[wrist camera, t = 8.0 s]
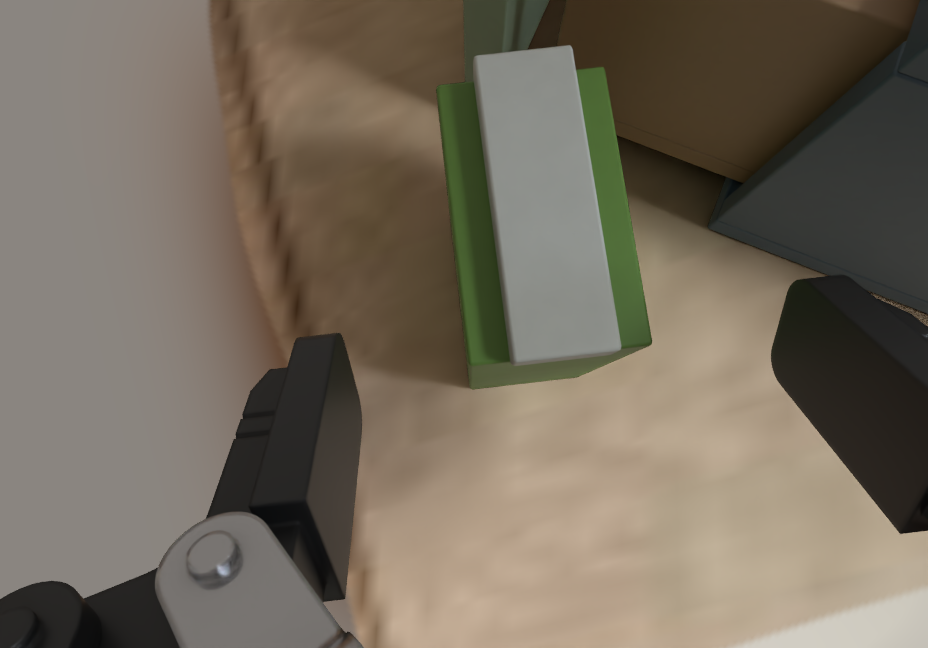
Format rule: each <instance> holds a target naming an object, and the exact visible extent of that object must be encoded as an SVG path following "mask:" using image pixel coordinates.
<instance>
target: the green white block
mask: <svg viewBox="0 0 928 648" xmlns="http://www.w3.org/2000/svg"><path fill="white" fill-rule="evenodd" d="M473 79H474V81H471V82H462V83H453V84H444V85H439V86H437V89H436V93H437V102H438V112H439V121H440V130H441V139H442V149H443V158H444V167H445V177H446V186H447V195H448V205H449V214H450V223H451V232H452V240H453V249H454V257H455V266H456V274H457V283H458V292H459V300H460V309H461V317H462V326H463V335H464V343H465V352H466V360H467V369H468V377H469V386H470V389H481V388H489V387H498V386H506V385H515V384H524V383H532V382H541V381H549V380H558V379H566V378H575V377H579V376H581V375H583V374H586V373H588V372H590V371H593V370H595V369H597V368H599V367H602V366H604V365H606V364H609V363H611V362H613V361H616V360H618V359H620V358H622V357H625V356H627V355H629V354H632V353H634V352H636V351H638V350H641V349H643V348H645V347H648V346H650V345H651V344H652V338H651V332H650V326H649V321H648V315H647V309H646V303H645V298H644V292H643V286H642V280H641V275H640V269H639V263H638V257H637V252H636V246H635V240H634V234H633V229H632V223H631V217H630V211H629V206H628V200H627V194H626V188H625V183H624V177H623V171H622V165H621V160H620V154H619V148H618V142H617V137H616V131H615V125H614V119H613V114H612V108H611V102H610V96H609V91H608V85H607V79H606V73H605V69H604V67H595V68H586V69H577V70H576V67H575V61H574V55H573V49H572V47H571V46H570V45H565V46H556V47H547V48H539V49H530V50H521V51H512V52H503V53H494V54H485V55H477V56H475V57H474V60H473Z"/></svg>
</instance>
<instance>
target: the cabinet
mask: <svg viewBox="0 0 928 648" xmlns="http://www.w3.org/2000/svg"><path fill="white" fill-rule="evenodd" d="M708 228H709V229H711V230H714V231H716V232H719V233H721V234H724V235H726V236H729V237H732V238H734V239H737V240H739V241H742V242H744V243H747V244H750V245H752V246H755V247H757V248H760V249H762V250H765V251H768V252H770V253H773V254H775V255H778V256H780V257H783V258H785V259H788V260H791V261H793V262H796V263H798V264H801V265H803V266H806V267H809V268H811V269H814V270H816V271H819V272H821V273H824V274H827V275H829V276H834V275H846V276H848V277H850V278H851V279H853V280H854V281H855V282H856V283H858V284H859V285H860V286H861V287H863V288H864V289H865V290H868V291H870V292H873V293H875V294H878V295H880V296H883V297H886V298H888V299H891V300H893V301H896V302H898V303H901V304H904V305H906V306H909V307H911V308H914V309H916V310H919V311H922V312H924V313H927V314H928V0H920V2H919V5H918V8H917V11H916V14H915V17H914V20H913V23H912V26H911V29H910V32H909V35H908V38H907V41H905V42H903V43H902V44H901V45H900V46H899V47H897V48H896V49H895V50H894V51H893V52H892V53H891V54H890V55H888V56H887V57H886V58H885V59H884V60H883V61H882V62H880V63H879V64H878V65H877V66H876V67H875V68H874V69H873V70H871V71H870V72H869V73H868V74H867V75H866V76H865V77H863V78H862V79H861V80H860V81H859V82H858V83H857V84H856V85H854V86H853V87H852V88H851V89H850V90H849V91H848V92H846V93H845V94H844V95H843V96H842V97H841V98H840V99H839V100H837V101H836V102H835V103H834V104H833V105H832V106H831V107H829V108H828V109H827V110H826V111H825V112H824V113H823V114H822V115H820V116H819V117H818V118H817V119H816V120H815V121H814V122H812V123H811V124H810V125H809V126H808V127H807V128H806V129H805V130H803V131H802V132H801V133H800V134H799V135H798V136H797V137H795V138H794V139H793V140H792V141H791V142H790V143H789V144H788V145H786V146H785V147H784V148H783V149H782V150H781V151H780V152H778V153H777V154H776V155H775V156H774V157H773V158H772V159H771V160H769V161H768V162H767V163H766V164H765V165H764V166H763V167H761V168H760V169H759V170H758V171H757V172H756V173H755V174H754V175H752V176H751V177H750V178H749V179H748V180H747V181H746V182H744V183H741V182H738V181H736V180H733V179H730V178H728V177H726V179H725V181H724V184H723V187H722V190H721V192H720V195H719V198H718V200H717V203H716V206H715V208H714V211H713V214H712V216H711V219H710V222H709V224H708Z"/></svg>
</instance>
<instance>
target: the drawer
mask: <svg viewBox="0 0 928 648" xmlns="http://www.w3.org/2000/svg"><path fill="white" fill-rule="evenodd" d="M548 2H549V0H463V6H464V55H465V82H471V81H474V79H473V60H474V57H475V56H477V55H485V54H494V53H503V52H512V51H521V50H527V49H528V47H529V45H530V42H531V40H532V38H533V36H534V34H535V31H536V29H537V27H538V25H539V22H540V20H541V18H542V16H543V14H544V11H545V9H546V7H547V5H548ZM919 2H920V0H566V4H565V9H564V13H563V18H562V22H561V27H560V31H559V36H558V40H557V45H556V46H565V45H570V46H571V47H572V49H573V55H574V61H575V67H576V70H577V69H586V68H595V67H604V69H605V73H606V79H607V85H608V91H609V96H610V102H611V108H612V114H613V119H614V125H615V131H616V135H618V136H620V137H623V138H625V139H628V140H631V141H633V142H636V143H639V144H641V145H644V146H646V147H649V148H652V149H654V150H657V151H660V152H662V153H665V154H667V155H670V156H673V157H675V158H678V159H681V160H683V161H686V162H688V163H691V164H694V165H696V166H699V167H702V168H704V169H707V170H709V171H712V172H715V173H717V174H720V175H723V176H725V177H728V178H730V179H733V180H736V181H738V182H741V183H744V182H746V181H747V180H748V179H749V178H750V177H751V176H752V175H754V174H755V173H756V172H757V171H758V170H759V169H760V168H761V167H763V166H764V165H765V164H766V163H767V162H768V161H769V160H771V159H772V158H773V157H774V156H775V155H776V154H777V153H778V152H780V151H781V150H782V149H783V148H784V147H785V146H786V145H788V144H789V143H790V142H791V141H792V140H793V139H794V138H795V137H797V136H798V135H799V134H800V133H801V132H802V131H803V130H805V129H806V128H807V127H808V126H809V125H810V124H811V123H812V122H814V121H815V120H816V119H817V118H818V117H819V116H820V115H822V114H823V113H824V112H825V111H826V110H827V109H828V108H829V107H831V106H832V105H833V104H834V103H835V102H836V101H837V100H839V99H840V98H841V97H842V96H843V95H844V94H845V93H846V92H848V91H849V90H850V89H851V88H852V87H853V86H854V85H856V84H857V83H858V82H859V81H860V80H861V79H862V78H863V77H865V76H866V75H867V74H868V73H869V72H870V71H871V70H873V69H874V68H875V67H876V66H877V65H878V64H879V63H880V62H882V61H883V60H884V59H885V58H886V57H887V56H888V55H890V54H891V53H892V52H893V51H894V50H895V49H896V48H897V47H899V46H900V45H901V44H902V43H903V42H905V41H907V38H908V35H909V32H910V29H911V26H912V23H913V20H914V17H915V14H916V11H917V8H918V5H919Z"/></svg>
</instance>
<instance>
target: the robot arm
mask: <svg viewBox="0 0 928 648" xmlns="http://www.w3.org/2000/svg"><path fill="white" fill-rule="evenodd" d="M771 362H772V368H773V371H774V374H775V376H776V378H777V380H778V382H779V383H780V385H781V386H782V387H783V388H784V390H785V391H786V392H787V393H788V395H789V396H790V397H791V398H792V400H793V401H794V402H795V403H796V405H797V406H798V407H799V408H800V410H801V411H802V412H803V413H804V415H805V416H806V417H807V418H808V419H809V421H810V422H811V423H812V424H813V426H814V427H815V428H816V429H817V431H818V432H819V433H820V434H821V436H822V437H823V438H824V439H825V441H826V442H827V443H828V444H829V446H830V447H831V448H832V449H833V451H834V452H835V453H836V454H837V456H838V457H839V458H840V459H841V461H842V462H843V463H844V464H845V466H846V467H847V468H848V469H849V471H850V472H851V473H852V474H853V476H854V477H855V478H856V479H857V480H858V482H859V483H860V484H861V485H862V487H863V488H864V489H865V490H866V492H867V493H868V494H869V495H870V497H871V498H872V499H873V500H874V502H875V503H876V504H877V505H878V507H879V508H880V509H881V510H882V512H883V513H884V514H885V515H886V517H887V518H888V519H889V520H890V522H891V523H892V524H893V525H894V527H895V528H896V529H897V530H898V532H899V533H900V534H903V533H911V532H920V531H928V327H927V326H926V325H924V324H923V323H922V322H921V321H919V320H918V319H917V318H915V317H914V316H913V315H912V314H910V313H908V312H905V311H903V310H901V309H899V308H897V307H894V306H892V305H890V304H888V303H886V302H884V301H881V300H879V299H876V298H875V297H874V296H872V295H871V294H870V293H869V292H868V291H866V290H865V289H864V288H863V287H861V286H860V285H859V284H858V283H856V282H855V281H854V280H853V279H851V278H850V277H848V276H846V275H834V276H825V277H817V278H808V279H800V280H796V281H795V282H793V283H792V285H791V286H790V288H789V290H788V292H787V296H786V299H785V303H784V307H783V310H782V314H781V317H780V321H779V325H778V328H777V332H776V335H775V339H774V343H773V346H772V351H771ZM361 435H362V413H361V405H360V399H359V395H358V391H357V387H356V384H355V380H354V376H353V372H352V369H351V365H350V361H349V357H348V354H347V350H346V346H345V343H344V340H343V337H342V335H341V334H340V333H332V334H324V335H316V336H307V337H299V338H297V339H296V340H295V343H294V346H293V349H292V353H291V356H290V360H289V364H288V367H287V368H279V369H270V370H269V371H268V372H267V373H266V374H265V375H264V377H263V378H262V379H261V380H260V381H259V382H258V383H257V384H256V386H255V387H254V388H253V389H252V390H251V391H250V394H249V397H248V400H247V403H246V406H245V409H244V411H243V419H241V420H240V423H239V426H238V429H237V432H236V439H234V441H233V443H232V446H231V449H230V452H229V455H228V458H227V460H226V463H225V466H224V469H223V472H222V475H221V478H220V480H219V483H218V486H217V489H216V492H215V495H214V498H213V501H212V503H211V506H210V509H209V512H208V515H207V517H206V519H205V520H203V521H201V522H199V523H197V524H196V525H194V526H193V527H191V528H190V529H188V530H187V531H186V532H184V533H183V534H182V535H181V536H180V537H179V538H178V539H177V540H176V541H175V542H174V543H173V544H172V545H171V547H170V548H169V549H168V551H167V552H166V553H165V555H164V557H163V559H162V560H161V562H160V564H159V567H158V568H156V569H155V570H152V571H150V572H148V573H146V574H144V575H141V576H139V577H137V578H134V579H132V580H129V581H126V582H124V583H122V584H119V585H117V586H114V587H112V588H109V589H107V590H104V591H102V592H99V593H97V594H94V595H92V596H89V597H87V598H84V599H83V598H82V597H81V596H80V594H79V593H78V592H77V591H76V590H75V589H74V588H73V587H72V586H70V585H68V584H66V583H63V582H57V581H48V582H40V583H36V584H32V585H29V586H26V587H24V588H21V589H18V590H16V591H15V592H12V593H10V594H8V595H7V596H5V597H3V598H2V599H0V648H364V647H363V646H362V645H361V644H360V642H359V641H358V640H357V639H356V638H355V637H354V636H353V635H352V634H351V633H350V632H347V633H345V632H344V631H343V630H342V628H341V627H340V626H339V625H338V623H337V622H336V621H335V619H334V618H333V616H332V615H331V613H330V612H329V611H328V609H327V608H326V607H325V605H324V604H323V602H325V601H333V600H342V599H345V595H346V585H347V575H348V565H349V555H350V545H351V535H352V525H353V515H354V505H355V495H356V485H357V475H358V465H359V455H360V445H361Z"/></svg>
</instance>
